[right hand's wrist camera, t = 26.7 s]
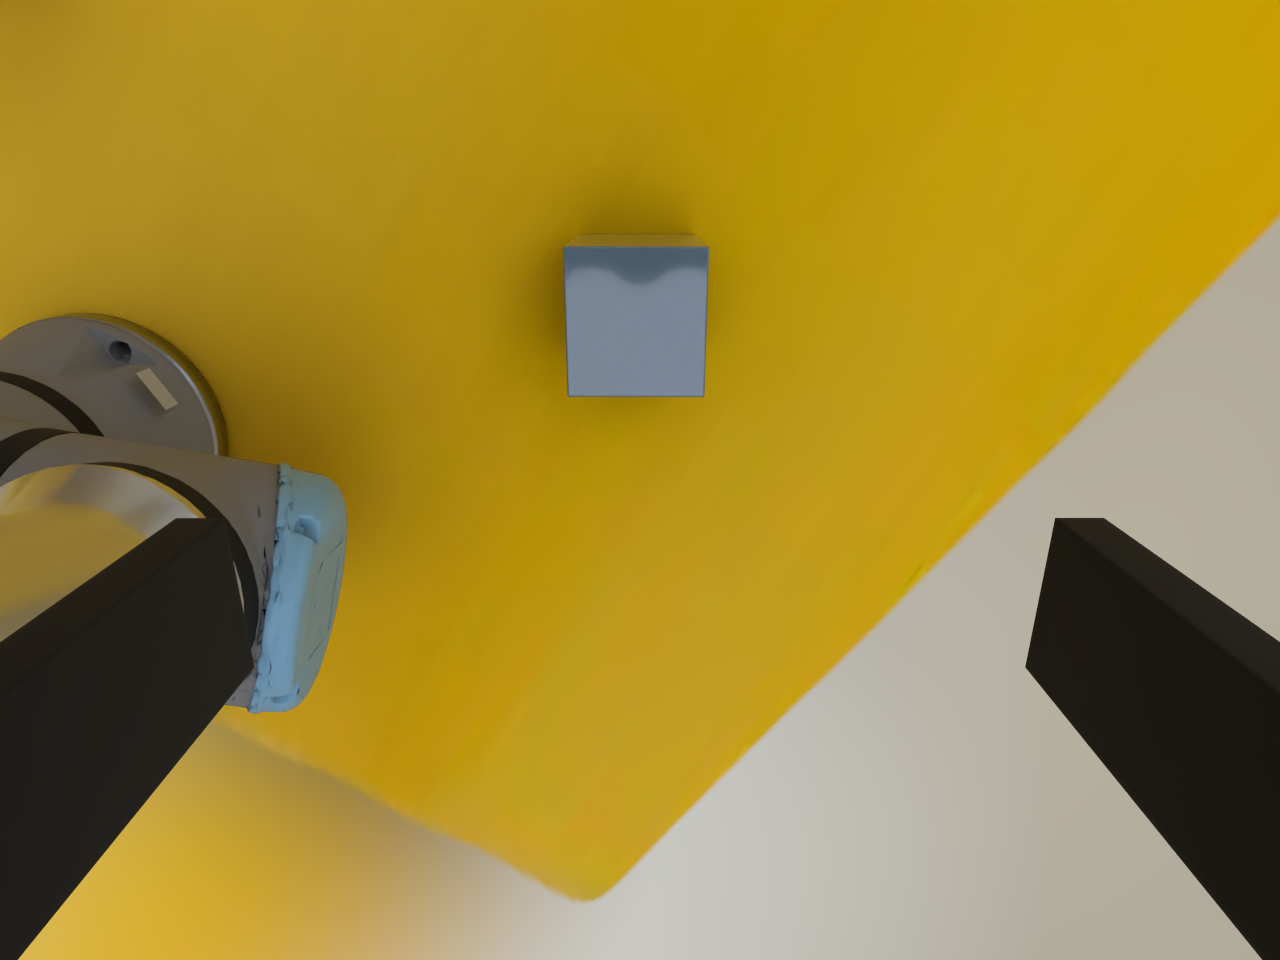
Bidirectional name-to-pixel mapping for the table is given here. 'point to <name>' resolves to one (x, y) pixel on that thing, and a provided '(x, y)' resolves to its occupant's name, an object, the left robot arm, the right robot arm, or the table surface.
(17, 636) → the right robot arm
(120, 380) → the left robot arm
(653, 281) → the block
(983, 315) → the table surface
